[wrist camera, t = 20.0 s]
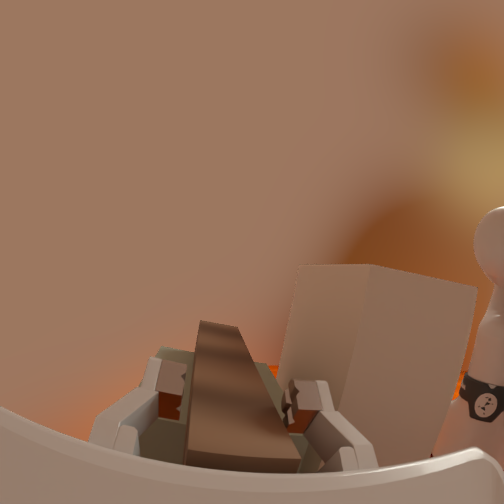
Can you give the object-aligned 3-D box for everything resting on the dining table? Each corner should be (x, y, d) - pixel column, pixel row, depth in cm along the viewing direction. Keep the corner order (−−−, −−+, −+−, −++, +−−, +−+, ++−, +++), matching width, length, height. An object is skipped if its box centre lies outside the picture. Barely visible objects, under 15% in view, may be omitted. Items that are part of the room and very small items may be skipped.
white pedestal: (376, 549, 17) (477, 287, 19) (276, 565, 16) (370, 264, 17) (328, 476, 32) (381, 280, 33) (252, 476, 31) (299, 264, 32)
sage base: (255, 577, 14) (310, 435, 15) (128, 564, 13) (124, 411, 14) (237, 487, 28) (266, 363, 29) (148, 474, 27) (161, 346, 28)
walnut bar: (279, 518, 8) (301, 458, 8) (178, 511, 8) (187, 449, 8) (231, 356, 29) (237, 327, 29) (194, 350, 28) (200, 320, 28)
